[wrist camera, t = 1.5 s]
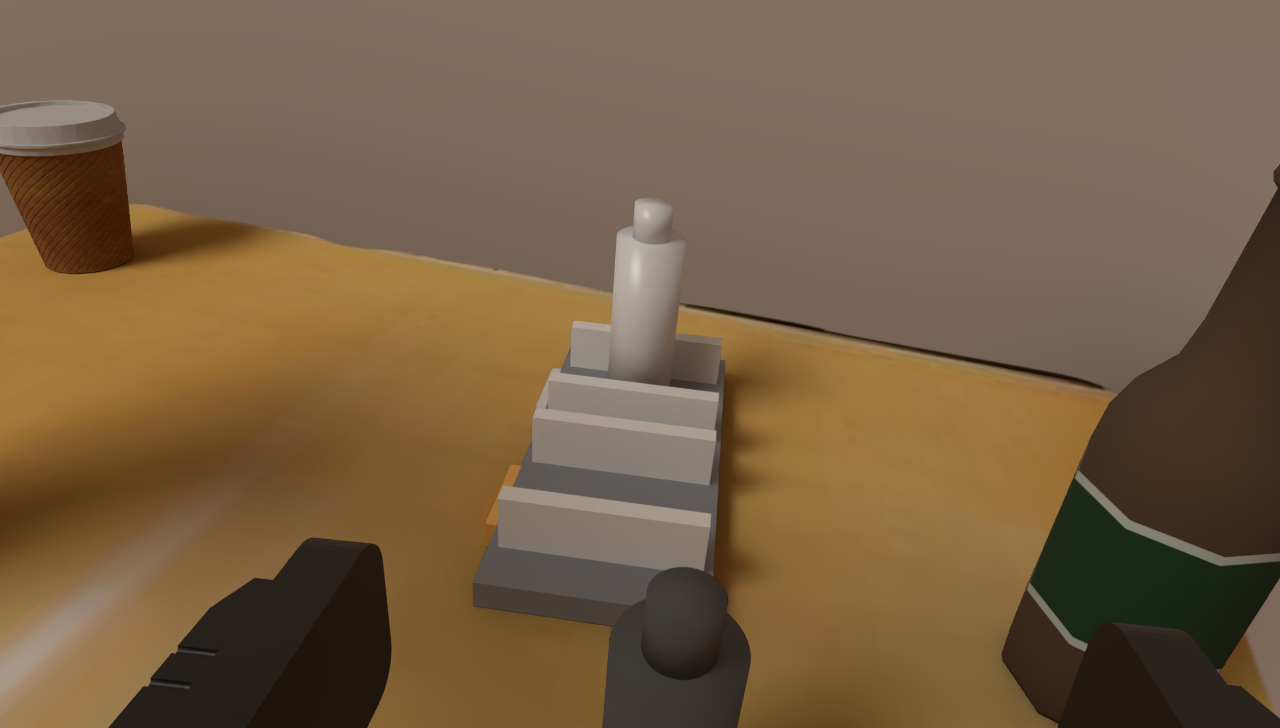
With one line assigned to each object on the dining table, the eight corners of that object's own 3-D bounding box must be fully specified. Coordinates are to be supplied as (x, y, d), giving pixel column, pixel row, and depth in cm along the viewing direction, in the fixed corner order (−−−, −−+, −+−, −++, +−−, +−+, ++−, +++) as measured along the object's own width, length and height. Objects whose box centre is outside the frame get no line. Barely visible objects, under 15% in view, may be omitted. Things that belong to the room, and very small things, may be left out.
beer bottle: (1120, 791, 32) (1478, 210, 20) (960, 651, 37) (1165, 133, 25) (1216, 708, 36) (1564, 180, 24) (1058, 593, 41) (1276, 118, 29)
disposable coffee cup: (-9, 269, 64) (-63, 116, 58) (93, 231, 72) (55, 93, 66) (87, 291, 62) (41, 135, 56) (181, 249, 70) (150, 109, 64)
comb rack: (707, 640, 37) (719, 567, 35) (461, 604, 38) (457, 531, 35) (722, 378, 58) (730, 322, 55) (564, 358, 58) (565, 303, 56)
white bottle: (593, 397, 51) (604, 201, 45) (635, 376, 54) (651, 188, 48) (639, 423, 49) (658, 221, 43) (680, 400, 52) (704, 206, 45)
